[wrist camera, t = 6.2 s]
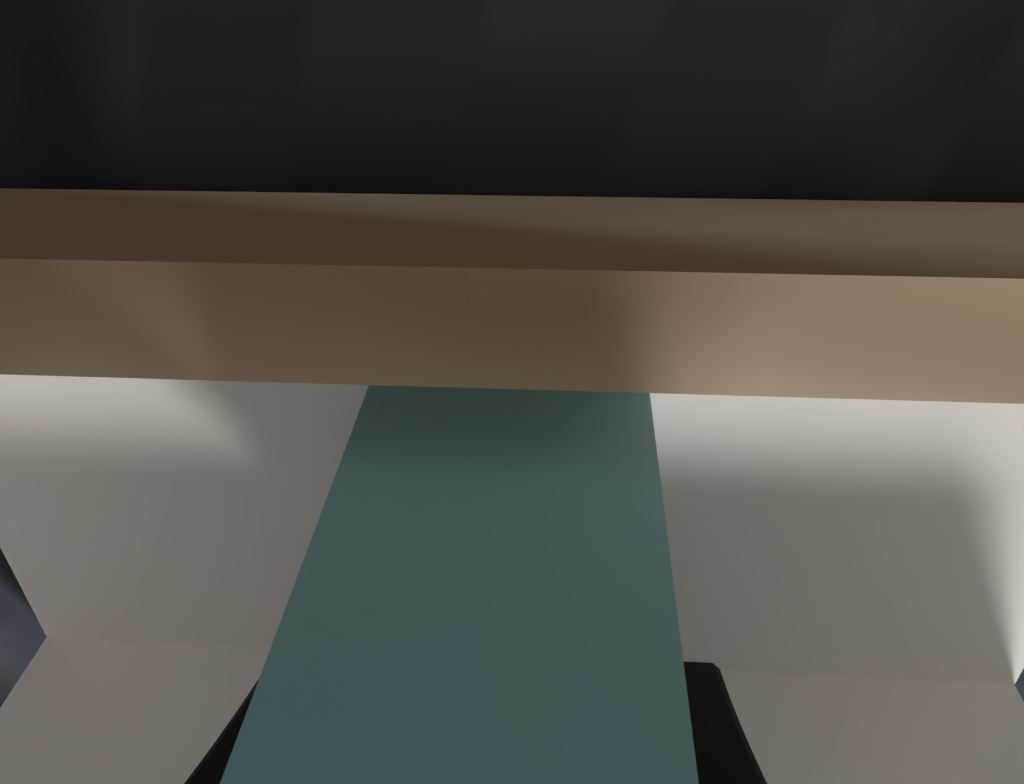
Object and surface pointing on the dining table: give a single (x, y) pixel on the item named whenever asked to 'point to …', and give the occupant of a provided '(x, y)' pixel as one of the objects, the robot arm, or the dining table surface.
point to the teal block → (481, 603)
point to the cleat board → (530, 366)
